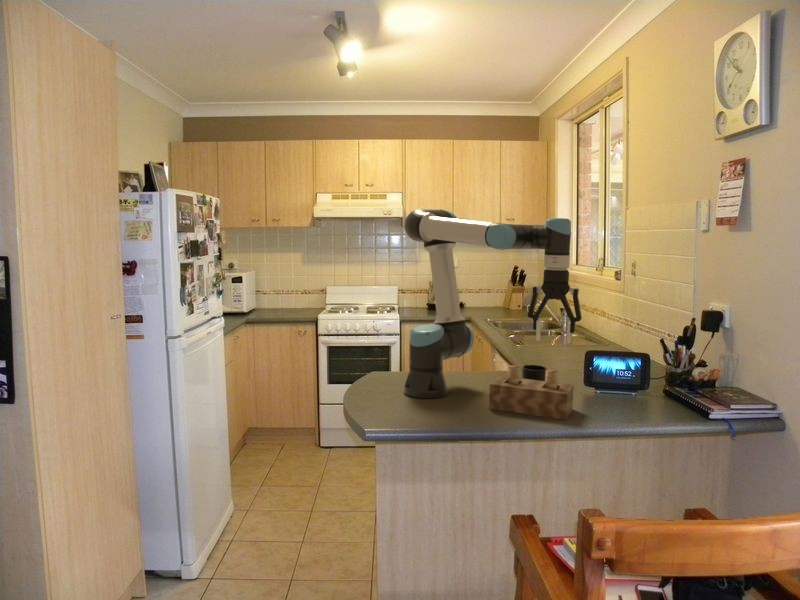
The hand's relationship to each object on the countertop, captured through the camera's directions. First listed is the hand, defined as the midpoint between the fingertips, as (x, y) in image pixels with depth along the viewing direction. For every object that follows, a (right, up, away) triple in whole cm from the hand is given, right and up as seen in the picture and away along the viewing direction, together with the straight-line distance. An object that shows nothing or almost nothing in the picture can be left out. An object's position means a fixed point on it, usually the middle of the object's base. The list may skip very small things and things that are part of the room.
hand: (553, 341), depth 174 cm
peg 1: (-11, -16, +7) cm, 21 cm away
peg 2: (0, -17, +2) cm, 17 cm away
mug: (-1, -20, +24) cm, 31 cm away
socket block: (-6, -22, +5) cm, 23 cm away
